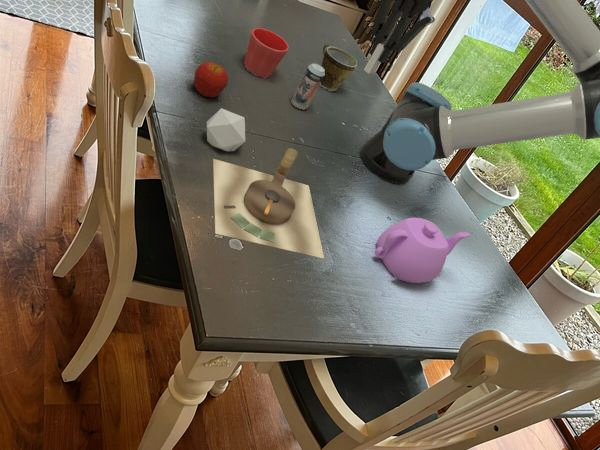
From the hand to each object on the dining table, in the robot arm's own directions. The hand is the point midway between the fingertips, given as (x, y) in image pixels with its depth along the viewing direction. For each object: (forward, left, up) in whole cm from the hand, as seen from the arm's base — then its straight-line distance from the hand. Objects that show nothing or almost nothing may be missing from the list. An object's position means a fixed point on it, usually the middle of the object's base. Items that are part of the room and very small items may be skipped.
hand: (369, 71), depth 126 cm
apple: (+29, -12, -25) cm, 40 cm away
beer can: (+3, -21, -25) cm, 32 cm away
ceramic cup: (-8, -40, -25) cm, 48 cm away
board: (+17, +26, -24) cm, 39 cm away
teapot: (-15, +32, -25) cm, 43 cm away
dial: (+16, +23, -23) cm, 36 cm away
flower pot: (+14, -33, -25) cm, 43 cm away
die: (+26, +8, -25) cm, 37 cm away
